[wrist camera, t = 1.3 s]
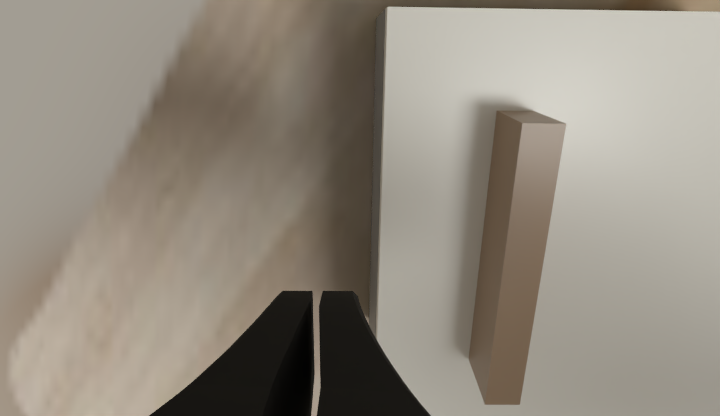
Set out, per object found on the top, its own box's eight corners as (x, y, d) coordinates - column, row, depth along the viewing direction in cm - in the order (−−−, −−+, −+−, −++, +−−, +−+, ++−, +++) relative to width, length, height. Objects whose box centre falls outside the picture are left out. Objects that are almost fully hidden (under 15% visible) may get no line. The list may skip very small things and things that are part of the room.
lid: (833, 15, 12) (963, 9, 10) (703, 402, 17) (768, 470, 14) (385, 8, 12) (393, -1, 10) (373, 402, 17) (377, 470, 14)
